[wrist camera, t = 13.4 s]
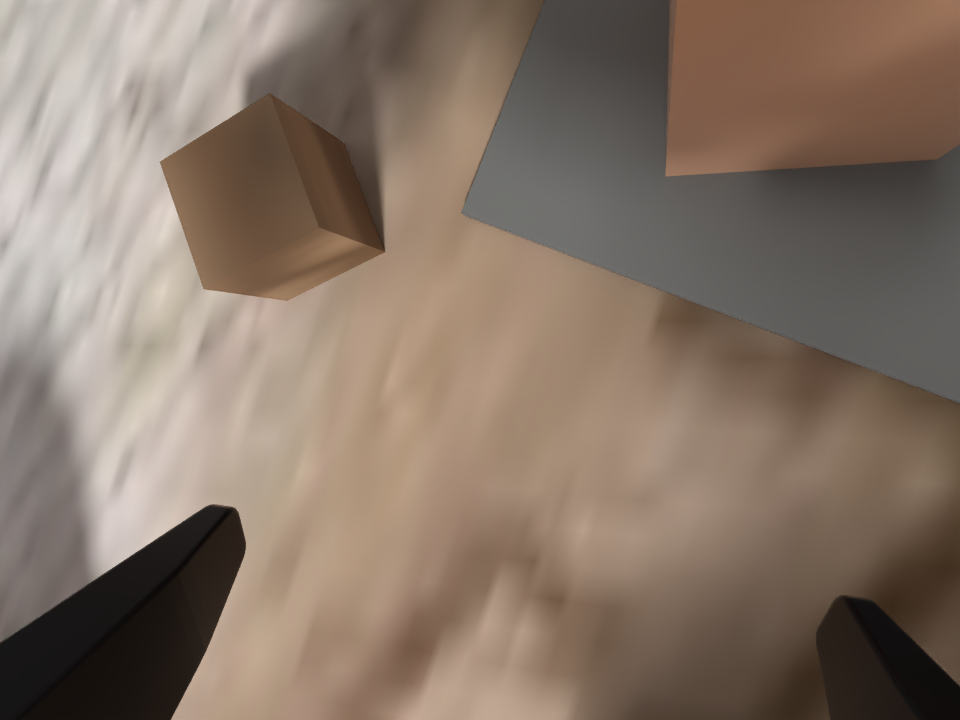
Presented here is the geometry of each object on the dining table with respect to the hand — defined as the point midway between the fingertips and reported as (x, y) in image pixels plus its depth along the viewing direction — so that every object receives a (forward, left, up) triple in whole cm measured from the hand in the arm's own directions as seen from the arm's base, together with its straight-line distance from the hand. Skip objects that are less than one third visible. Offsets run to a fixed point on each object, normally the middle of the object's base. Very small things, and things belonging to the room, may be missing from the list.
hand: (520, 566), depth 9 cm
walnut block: (+11, -3, -9) cm, 15 cm away
